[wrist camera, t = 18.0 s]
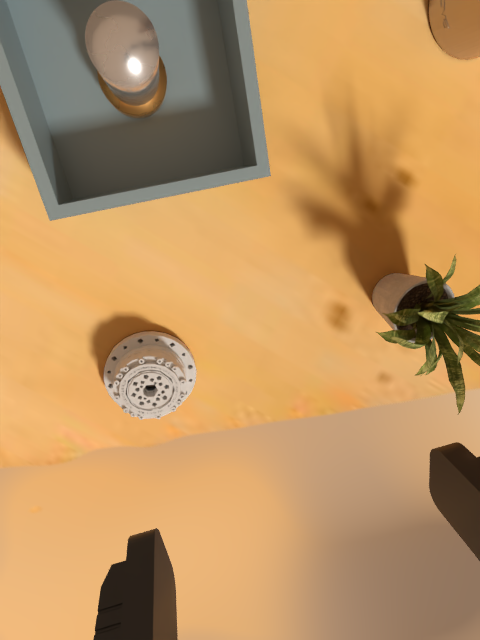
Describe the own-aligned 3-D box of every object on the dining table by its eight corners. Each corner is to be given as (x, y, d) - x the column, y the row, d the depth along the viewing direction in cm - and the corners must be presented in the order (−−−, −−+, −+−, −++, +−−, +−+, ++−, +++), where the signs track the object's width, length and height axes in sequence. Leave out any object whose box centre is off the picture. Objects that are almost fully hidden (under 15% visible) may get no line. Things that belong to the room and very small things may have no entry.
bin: (217, -63, 31) (230, -116, 25) (253, 174, 38) (270, 175, 32) (-16, -31, 29) (-61, -81, 23) (68, 211, 36) (49, 220, 30)
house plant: (411, 194, 42) (548, 211, 27) (472, 276, 47) (615, 328, 32) (316, 290, 44) (396, 355, 29) (385, 358, 49) (482, 442, 35)
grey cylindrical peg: (157, 42, 32) (157, -20, 21) (172, 112, 34) (178, 89, 23) (94, 52, 32) (59, -7, 21) (113, 123, 34) (90, 103, 23)
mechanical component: (134, 313, 41) (88, 385, 44) (131, 329, 37) (81, 407, 39) (211, 355, 45) (166, 419, 47) (216, 374, 41) (166, 443, 43)
